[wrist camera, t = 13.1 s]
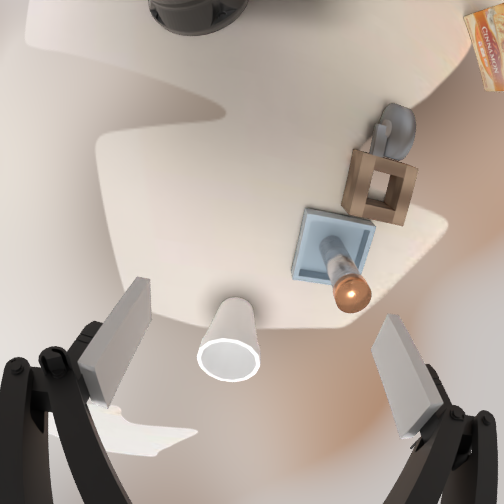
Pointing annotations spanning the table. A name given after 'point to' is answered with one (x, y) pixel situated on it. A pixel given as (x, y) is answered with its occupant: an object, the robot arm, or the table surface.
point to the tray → (319, 227)
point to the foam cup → (231, 343)
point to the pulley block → (384, 169)
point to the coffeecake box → (489, 45)
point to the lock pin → (344, 276)
